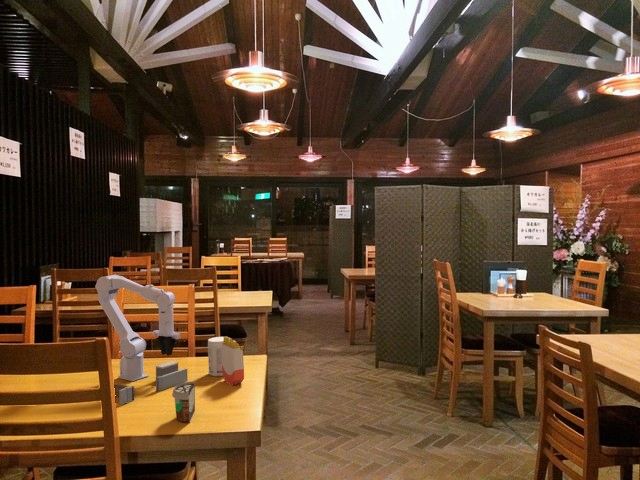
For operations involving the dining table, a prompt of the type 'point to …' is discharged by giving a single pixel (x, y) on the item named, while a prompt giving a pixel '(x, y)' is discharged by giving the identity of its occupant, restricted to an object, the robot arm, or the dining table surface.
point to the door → (119, 387)
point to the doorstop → (166, 368)
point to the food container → (184, 401)
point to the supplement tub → (215, 355)
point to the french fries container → (232, 362)
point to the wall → (157, 384)
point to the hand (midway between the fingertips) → (166, 354)
